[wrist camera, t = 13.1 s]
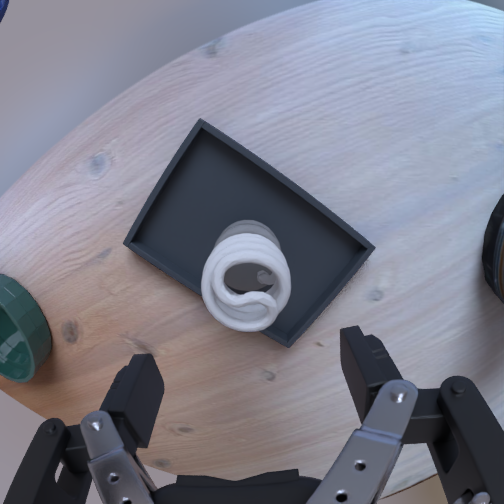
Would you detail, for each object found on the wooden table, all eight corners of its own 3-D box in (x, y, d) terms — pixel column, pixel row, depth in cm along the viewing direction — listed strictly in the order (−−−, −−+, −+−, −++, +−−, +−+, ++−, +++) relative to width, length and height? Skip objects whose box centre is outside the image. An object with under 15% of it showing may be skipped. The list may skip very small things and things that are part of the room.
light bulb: (205, 245, 29) (176, 309, 17) (241, 197, 27) (234, 233, 16) (253, 280, 30) (254, 358, 18) (291, 234, 28) (316, 294, 17)
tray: (129, 237, 29) (122, 244, 27) (203, 120, 26) (199, 117, 24) (287, 337, 33) (288, 348, 31) (368, 241, 29) (376, 247, 27)
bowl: (-21, 322, 33) (-39, 337, 29) (-12, 252, 30) (-36, 265, 25) (43, 377, 36) (28, 398, 31) (62, 316, 32) (42, 338, 27)
